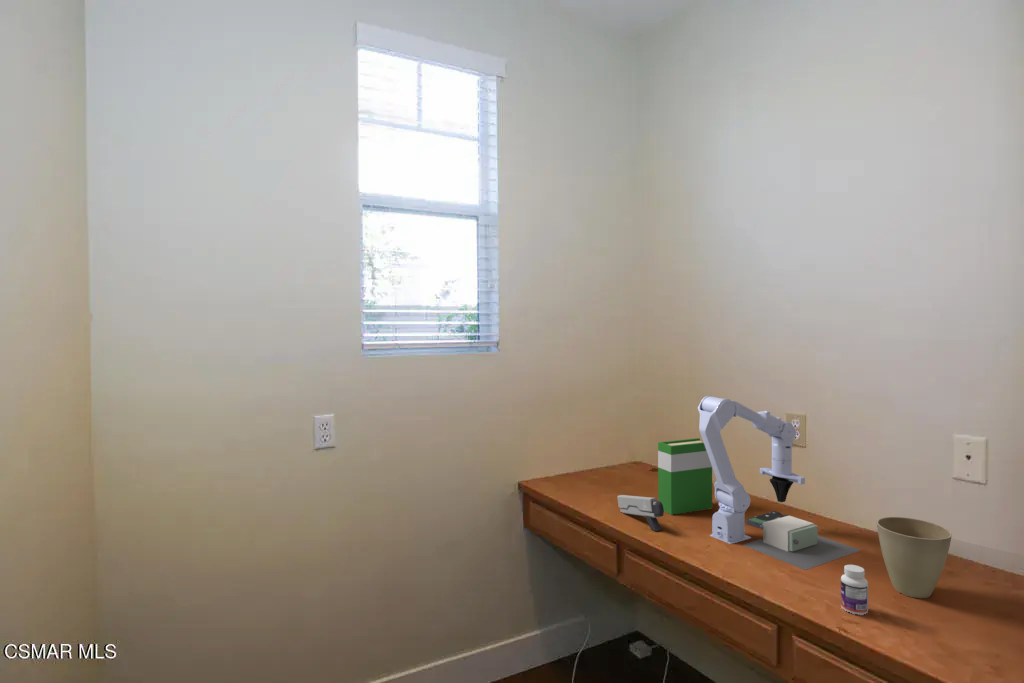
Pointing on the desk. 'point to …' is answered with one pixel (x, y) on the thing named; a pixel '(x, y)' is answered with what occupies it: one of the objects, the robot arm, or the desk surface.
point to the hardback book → (684, 476)
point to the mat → (806, 552)
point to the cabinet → (782, 530)
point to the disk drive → (764, 519)
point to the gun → (642, 508)
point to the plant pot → (913, 553)
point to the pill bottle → (854, 590)
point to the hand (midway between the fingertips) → (781, 501)
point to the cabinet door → (803, 537)
